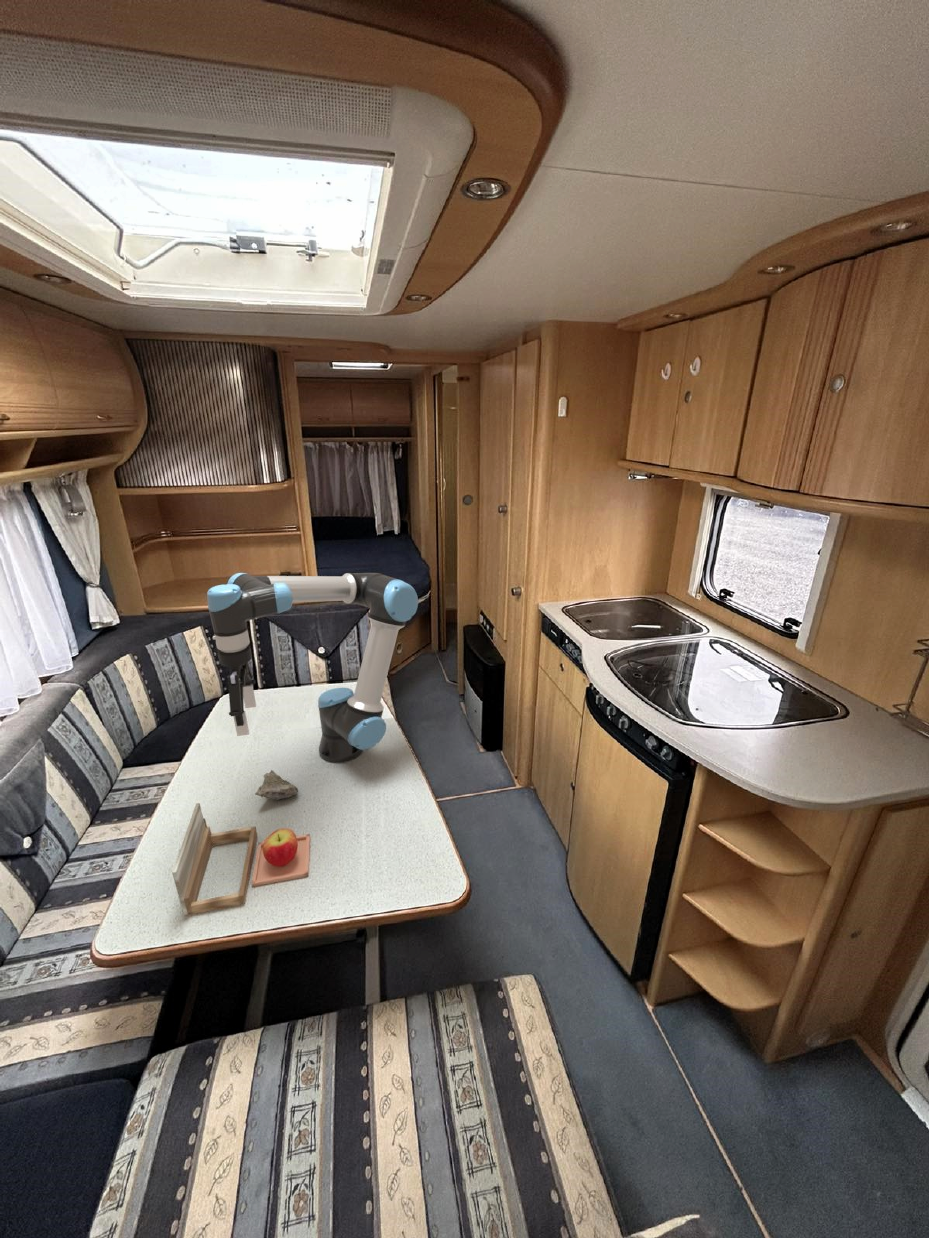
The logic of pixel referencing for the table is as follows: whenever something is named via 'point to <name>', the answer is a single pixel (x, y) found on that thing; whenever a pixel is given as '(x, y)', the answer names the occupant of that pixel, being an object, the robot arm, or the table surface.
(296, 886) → the table surface
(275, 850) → the apple
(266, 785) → the rock
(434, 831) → the table surface
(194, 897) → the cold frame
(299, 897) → the table surface
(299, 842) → the dish
